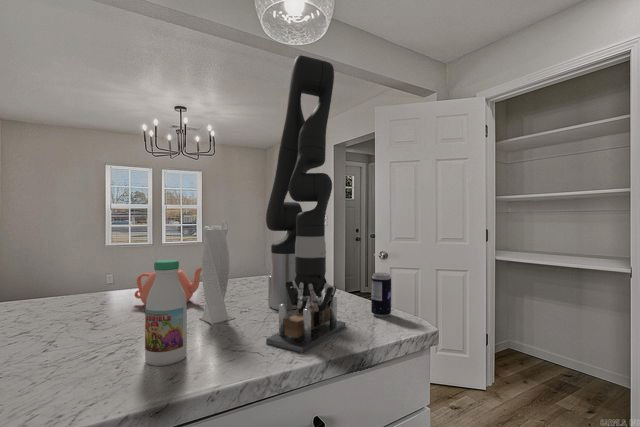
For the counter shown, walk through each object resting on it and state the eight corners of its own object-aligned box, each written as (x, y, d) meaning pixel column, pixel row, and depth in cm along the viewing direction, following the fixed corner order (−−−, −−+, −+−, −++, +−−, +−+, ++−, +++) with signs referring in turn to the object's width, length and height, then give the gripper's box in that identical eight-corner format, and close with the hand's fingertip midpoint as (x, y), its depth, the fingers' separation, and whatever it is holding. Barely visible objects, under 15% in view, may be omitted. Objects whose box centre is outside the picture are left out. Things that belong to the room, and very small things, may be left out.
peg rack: (266, 343, 78) (266, 307, 78) (313, 320, 95) (313, 290, 95) (302, 353, 73) (302, 314, 73) (345, 326, 90) (345, 295, 90)
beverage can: (391, 318, 97) (391, 276, 97) (370, 317, 98) (371, 275, 98) (390, 312, 103) (391, 272, 103) (371, 311, 104) (372, 272, 104)
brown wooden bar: (297, 337, 76) (297, 322, 76) (284, 334, 78) (284, 319, 78) (332, 319, 90) (332, 305, 90) (320, 316, 92) (320, 303, 92)
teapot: (209, 296, 122) (209, 261, 122) (201, 308, 106) (202, 268, 106) (142, 298, 118) (142, 262, 118) (125, 311, 103) (125, 270, 103)
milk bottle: (154, 351, 73) (154, 258, 73) (191, 350, 74) (191, 257, 74) (138, 367, 66) (138, 263, 66) (179, 366, 66) (180, 263, 66)
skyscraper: (237, 321, 95) (238, 220, 95) (210, 328, 89) (211, 220, 89) (221, 314, 101) (221, 219, 101) (195, 320, 95) (195, 220, 95)
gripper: (278, 254, 84) (277, 324, 84) (328, 258, 77) (327, 334, 77) (295, 251, 91) (295, 316, 91) (343, 254, 84) (343, 325, 84)
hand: (310, 324), depth 84 cm, fingers closed on brown wooden bar, 3 cm apart
